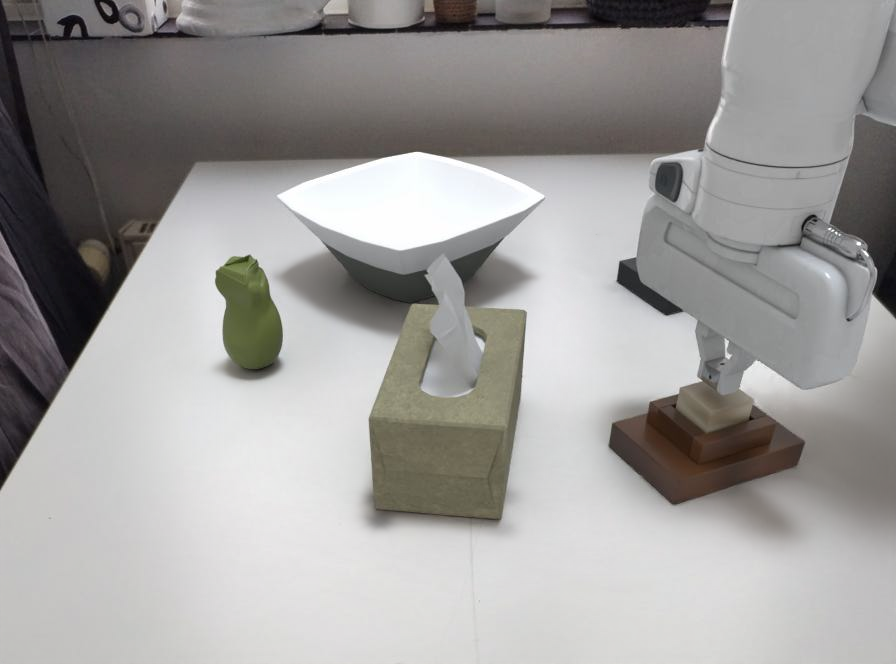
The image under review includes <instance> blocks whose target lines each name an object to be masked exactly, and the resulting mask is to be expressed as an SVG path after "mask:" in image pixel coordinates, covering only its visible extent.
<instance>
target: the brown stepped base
mask: <svg viewBox="0 0 896 664" xmlns="http://www.w3.org/2000/svg"><path fill="white" fill-rule="evenodd" d="M678 395H679V393H676V394H672V395H669V396H666V397H665V396H664V397H662V398H658V399H654V400H650V401H649V404H648V410H647V412H644V413H642V414H639V415H635V416H631V417H628V418H624V419H621V420H616V421H613V422H612V423H611V429H610V434H609V440H608V447H610V449H611V450H613V451H614V452H615V453H616V454H617V455H618V456H620V458H622V459H623V460H624V461H625V462H626V463H627V464H628V465H630V467H631V468H633V469H634V471H636V472H637V473H638V474H639V475H641V477H643V478H644V479H645V480H646V481H647V482H648V483H649V484H650V485H651V486H652V487H653V488H655V489H656V490H657V491H658V492H659V493H660V494H661V495H663V497H665V498H666V500H668V501H669V502H670V503H671V505H676V504H680V503H683V502H686V501H688V500H692V499H696V498H698V497H702V496H705V495H707V494H711V493H714V492H717V491H720V490H724V489H727V488H730V487H733V486H737V485H739V484H743V483H746V482H749V481H753V480H755V479H759V478H762V477H765V476H768V475H771V474H774V473H777V472H780V471H784V470H787V469H790V468H794V467H797V466H798V465H799V462H800V461H801V460H800V459H801V457H802V453H803V451H804V448H805V444H806V441H805V440H804V439H802V438H801V437H799V436H798V435H797V434H795V433H794V432H792V431H791V430H789V429H788V428H787V427H786V426H784V425H783V424H781V423H780V422H778V421H777V420H776V419H775V418H773V417H771V416H770V415H769V414H767V413H766V412H765V411H763V410H762V409H760V408H759V407H757V405H755V404H753V406H752V410H751V413H750V417H749V420H748V421H747V422H744V423H741V424H737V425H734V426H730V427H727V428H724V429H720V430H717V431H713V432H710V433H705V432H704V431H703V430H701V429H700V428H699V427H698V426H696V425H695V424H694V423H693V422H691V421H690V420H689V419H688V418H686V417H685V416H684V415H682V414H681V413H680V412H679V411H677V410H676V404H677V399H678Z"/></svg>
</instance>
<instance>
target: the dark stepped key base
mask: <svg viewBox="0 0 896 664" xmlns="http://www.w3.org/2000/svg"><path fill="white" fill-rule="evenodd" d="M616 282H617V283H619V284H620V285H621V286H623V287H625V288H626V289H628V291H630V292H632V293H633V294H634V295H636V296H638V297H639V298H640V299H642V301H644V302H645V303H648V304H649V305H651V306H652V307H654V309H657V310H658V311H659V312H660V313H662V314H664V315H665V316H668V315H671V314H675V313H681V312H685V311H684V310H682V309H681V308H679V307H678V306H676V305H675V304H673V303H672V302H670V301H669V300H667V299H666V298H664V297H663V296H661V295H660V294H658V293H657V292H655V291H654V290H652V289H651V288H649V287H648V286H646V285H645V284H643V283H642V282H641V281H640V278H639V274H638V270H637V266H636V256H635V257H630V258H625V259H622V260H621V259H620V260H619V262H618V268H617V275H616Z"/></svg>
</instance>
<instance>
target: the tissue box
mask: <svg viewBox="0 0 896 664" xmlns="http://www.w3.org/2000/svg"><path fill="white" fill-rule="evenodd" d="M427 272H428V274H426V275H425V277H426V279H427V280H428V282H429V283H430V285H431V286H432V291H433V293H434V294H435V295H434V296H435V298H436V299H437V302H438V304H428V303H426V304H425V303H412V304H411V305H410V306H409V309H408V312H407V315H406V317H405V320H404V323H403V325H402V327H401V330H400V333H399V335H398V339H397V341H396V343H395V347H394V349H393V352H392V355H391V357H390V360H389V362H388V365H387V368H386V371H385V374H384V376H383V379H382V382H381V384H380V387H379V389H378V392H377V395H376V398H375V400H374V402H373V405H372V408H371V410H370V414H369V417H368V432H369V434H368V435H369V449H370V463H371V477H372V492H373V494H372V495H373V507H374V508H375V509H376V510H384V511H393V512H405V513H406V512H407V513H418V514H429V515H441V516H442V515H443V516H453V517H465V518H478V519H488V520H489V519H490V520H500V519H502V518H503V513H504V505H505V499H506V493H507V488H508V487H507V486H508V480H509V473H510V466H511V461H512V456H513V455H512V454H513V448H514V441H515V436H516V435H515V434H516V430H517V429H516V428H517V422H518V416H519V409H520V404H521V397H522V386H523V371H524V356H525V342H526V329H527V328H526V327H527V316H528V313H527V311H526V310H525V309H519V308H502V307H501V308H500V307H499V308H498V307H481V306H480V307H479V306H466V305H465V298H466V297H465V296H466V295H465V288H464V285H463V283H462V281H461V279H460V277H459V276H458V274H457V273H456V271H455V270H454V268H453V267H452V265H451V264H450V262H449V261H448V259H447V258H446V256H445V255H444V254H442V255H441V256H440V257H439V258H437V259H436V260H435V261H434V262H433V263H432V264H431V266H430V267H429V268H428V269H427Z"/></svg>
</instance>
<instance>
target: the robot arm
mask: <svg viewBox="0 0 896 664" xmlns="http://www.w3.org/2000/svg"><path fill="white" fill-rule="evenodd" d="M725 33H726V34H725V38H724V43H723V48H722V53H721V59H720V75H721V90H720V97H719V102H718V105H717V108H716V111H715V113H714V116H713V117H712V119H711V121H710V123H709V125H708V128H707V131H706V135H705V139H704V145H703V147H702V148H698V149H692V150H687V151H682V152H677V153H673V154H669V155H665V156H661V157H656V158H654V159H653V160H652V162H651V163H650V167H649V171H648V179H647V180H648V181H647V183H648V188H649V190H650V191H651V192H652V194H651V195H650V196H649V198H648V199H647V201H646V203H645V206H644V210H643V214H642V219H641V223H640V229H639V234H638V243H637V250H636V256H635V257H636V266H637V270H638V274H639V278H640V281H641V282H642V283H643V284H645V285H646V286H648V287H649V288H651V289H652V290H654V291H655V292H657V293H658V294H660V295H661V296H663V297H664V298H666V299H667V300H669V301H670V302H672V303H673V304H675V305H676V306H678V307H679V308H681V309H682V310H684V311H683V312H685V313H686V314H688V315H690V316H691V317H692V318H694V319H696V325H695V329H694V333H695V338H696V343H697V349H698V354H699V358H700V360H699V365H698V368H697V374H696V377H697V379H699V380H701V381H703V382H705V383H706V384H707V385H709V386H711V387H712V388H713V389H714V390H716V391H717V392H718V393H720V394H721V395H723V396H724V395H727V394H731V393H734V392H736V391H737V390H738V389H740V387H741V383H742V380H743V376H744V373H745V371H747V370H748V369H749V368H750V367H751V366H752V365H753V364H754V363H755V362H756V361H758V362H760V363H761V364H763V365H764V366H766V367H767V368H769V369H770V370H772V371H773V372H775V373H776V374H778V375H779V376H781V377H782V378H784V379H785V380H786V381H788V382H790V383H791V384H792V385H794V386H795V387H797V388H799V389H800V390H803V391H810V390H814V389H819V388H822V387H825V386H829V385H832V384H836V383H838V382H839V381H841V380H844V379H845V378H846V377H848V376H849V375H851V374H852V372H853V370H854V369H855V367H856V364H857V360H858V358H859V355H860V351H861V347H862V344H863V340H864V335H865V332H866V328H867V323H868V318H869V314H870V309H871V303H872V297H873V291H874V288H875V286H876V284H877V280H878V279H877V278H878V268H877V267H876V266H875V263H874V260H873V258H872V256H871V254H870V253H869V252H868V248H869V247H868V244H867V243H866V242H865V241H864V240H863V239H861V238H859V236H855V235H853V234H847V233H845V232H843V231H841V230H840V229H839V228H837V227H836V226H835V225H833V224H831V220H832V217H833V213H834V210H835V206H836V203H837V200H838V197H839V194H840V190H841V187H842V184H843V180H844V177H845V174H846V171H847V167H848V164H849V160H850V158H851V155H852V151H853V147H854V141H855V121H856V116H859V115H863V116H866V117H869V118H871V119H873V120H874V121H876V122H880V123H884V124H887V125H890V126H894V127H896V0H733V1H732V6H731V8H730V14H729V19H728V23H727V28H726V32H725ZM725 340H727V341H728V344H727V348H726V341H725ZM726 354H728V355H730V357H729V358H728V357H726Z"/></svg>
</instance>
